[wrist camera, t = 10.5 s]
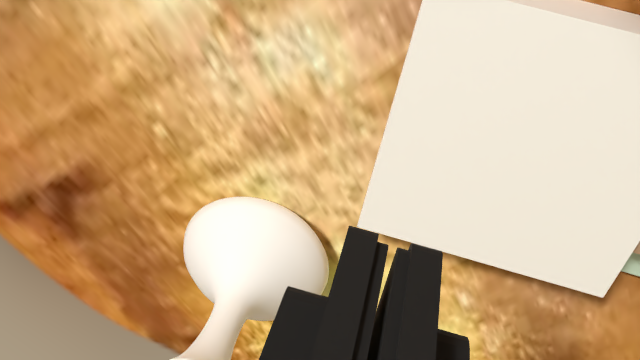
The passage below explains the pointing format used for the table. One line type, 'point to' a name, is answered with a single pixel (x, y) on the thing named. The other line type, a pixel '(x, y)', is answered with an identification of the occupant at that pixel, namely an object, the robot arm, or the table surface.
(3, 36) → the table surface
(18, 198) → the table surface
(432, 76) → the flat white rectangular box
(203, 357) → the flower in vase
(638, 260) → the green mat
